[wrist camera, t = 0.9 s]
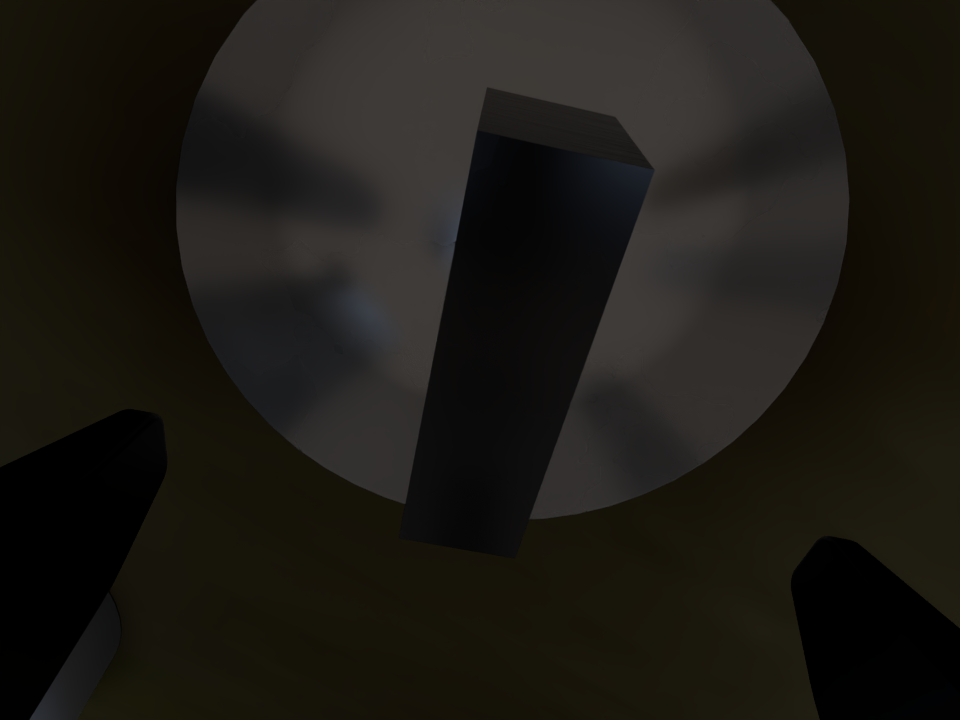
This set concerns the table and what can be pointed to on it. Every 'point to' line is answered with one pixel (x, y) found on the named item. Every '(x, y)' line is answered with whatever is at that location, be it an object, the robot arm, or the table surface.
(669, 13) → the lid
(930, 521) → the table surface
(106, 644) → the pot
